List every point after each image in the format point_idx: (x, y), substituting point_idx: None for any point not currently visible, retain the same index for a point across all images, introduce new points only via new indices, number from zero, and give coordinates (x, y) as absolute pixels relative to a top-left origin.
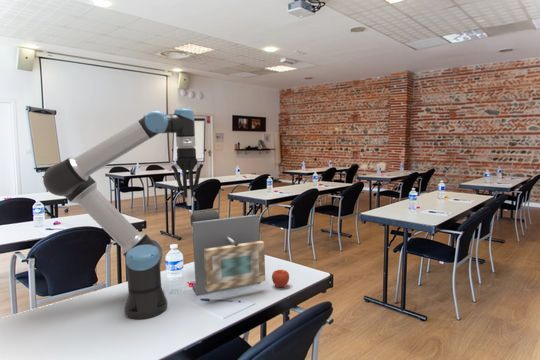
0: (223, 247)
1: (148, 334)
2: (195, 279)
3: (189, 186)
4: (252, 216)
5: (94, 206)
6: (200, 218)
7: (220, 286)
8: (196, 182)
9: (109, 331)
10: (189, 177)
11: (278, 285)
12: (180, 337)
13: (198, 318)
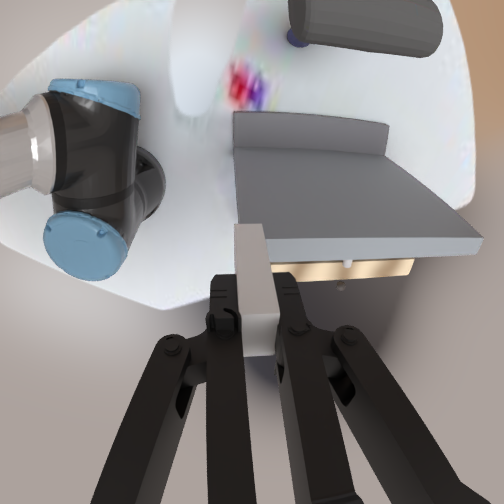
0: (308, 273)
1: (137, 264)
2: (234, 158)
3: (282, 340)
4: (462, 254)
5: None
6: (339, 41)
7: None
8: (344, 400)
9: None
10: (294, 452)
11: None
12: (181, 286)
13: (214, 250)
